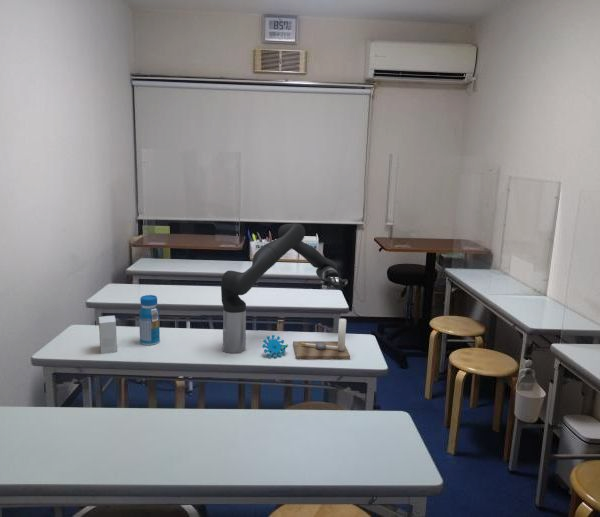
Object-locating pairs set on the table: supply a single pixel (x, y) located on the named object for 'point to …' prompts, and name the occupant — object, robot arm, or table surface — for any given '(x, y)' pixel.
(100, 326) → the small box
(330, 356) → the wooden cutting board
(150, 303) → the beverage bottle
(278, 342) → the blue spiky ball
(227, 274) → the robot arm
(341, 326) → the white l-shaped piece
